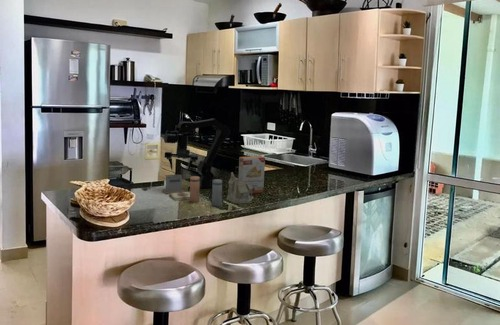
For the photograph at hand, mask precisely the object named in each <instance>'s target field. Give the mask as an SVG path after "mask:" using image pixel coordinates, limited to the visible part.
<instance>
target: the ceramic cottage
mask: <svg viewBox="0 0 500 325" xmlns="http://www.w3.org/2000/svg"><path fill="white" fill-rule="evenodd" d="M230 173H231V174H230V177H229V180H228V183H227V184H228V189H227V195H226V201H228V200H229V202H230V201H231V202H230V203H233V204H237V203H238V204H239V205H241V204H242V203H243V204H249V203H250V202H251V201H253V200H254V196H253V194H252V186H251V184H247V183H246V184H245V180H243V182H239V179H238V177H236V176H235V175H234V171H233V172H230ZM252 199H253V200H252ZM238 204H237V205H238Z"/></svg>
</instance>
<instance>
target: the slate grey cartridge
mask: <svg viewBox="0 0 500 325" xmlns="http://www.w3.org/2000/svg"><path fill="white" fill-rule="evenodd" d="M212 187H213V188H211V189H212V196H211V200H212V201H211V206H212V207H221V206H223V205H222V201H223V200H222V199H223V179H220V178H219V179H217V178H216V179H214V178H213V179H212Z"/></svg>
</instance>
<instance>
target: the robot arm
mask: <svg viewBox="0 0 500 325" xmlns="http://www.w3.org/2000/svg"><path fill="white" fill-rule="evenodd" d="M206 127H213V129H214V130H216V131H215V138H214V140H213V142H212V144H211V146H210V148H209V150H208V152H207V154H206V156H205V158H204V159H203V160H200V161H199V159H198V158H199V155H198V154H196V153H191V154H190V152H191V151H190V149H188V143H189V142H188V140H189V137H192V136H193V135H192V134H191V133H190V132H191V131H194V130H196V129H200V128H206ZM230 134H231V128H230V126H227V125H225V124H223V123H222V122H220V121H219V120H217V119H216V118H208V119H203V120H196V121H179V122H178V123H177V126H176V128H175V129H174V130H173V131H170V130H166V131H165V133H164V136H163V142H164V144H176V143H177V144H176V151H175V152H176V153H172V151H165V152H164V156H163V157H164V158H166V160H168V161H169V165H170V169H171V171H173V158H178V159H189V161H188V166H187V172H189V171H190V168H191V166H192V164H193V163H194V162H196V161H199V162H198V165H196V166H197V167H196V168H197V169H196V171H197V173H198V174H199V177H200V182H199V188H202V189H204V190H205V189H212V188H213V179H214V177H215V175H214V173H213V172H212V168H213V167H212V166H213V162H214V161H215V160H214V159H215V158H216V155H217V154H218V151H219V149H220V147H221V145H222V143H223V142H224V141H225V140H226V139H227V138H228V136H229V135H230Z"/></svg>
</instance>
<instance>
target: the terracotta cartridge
mask: <svg viewBox="0 0 500 325" xmlns="http://www.w3.org/2000/svg"><path fill="white" fill-rule="evenodd" d="M200 180H201V176H200V175H199V176H198V175H191V176H190V177H189V192H190V200H189V202H190V203H194V204H195V203H199V202H200Z"/></svg>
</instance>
